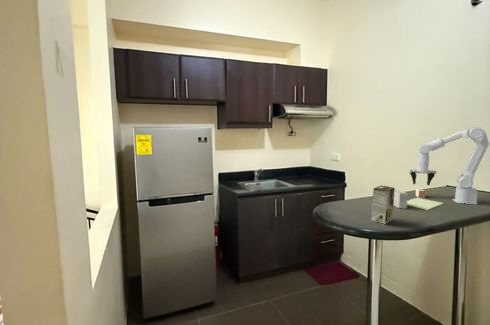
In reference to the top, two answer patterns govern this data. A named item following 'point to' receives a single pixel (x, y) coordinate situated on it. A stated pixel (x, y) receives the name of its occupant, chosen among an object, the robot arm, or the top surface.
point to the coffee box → (383, 204)
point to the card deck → (420, 193)
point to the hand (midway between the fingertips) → (421, 184)
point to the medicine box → (400, 199)
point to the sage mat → (423, 203)
